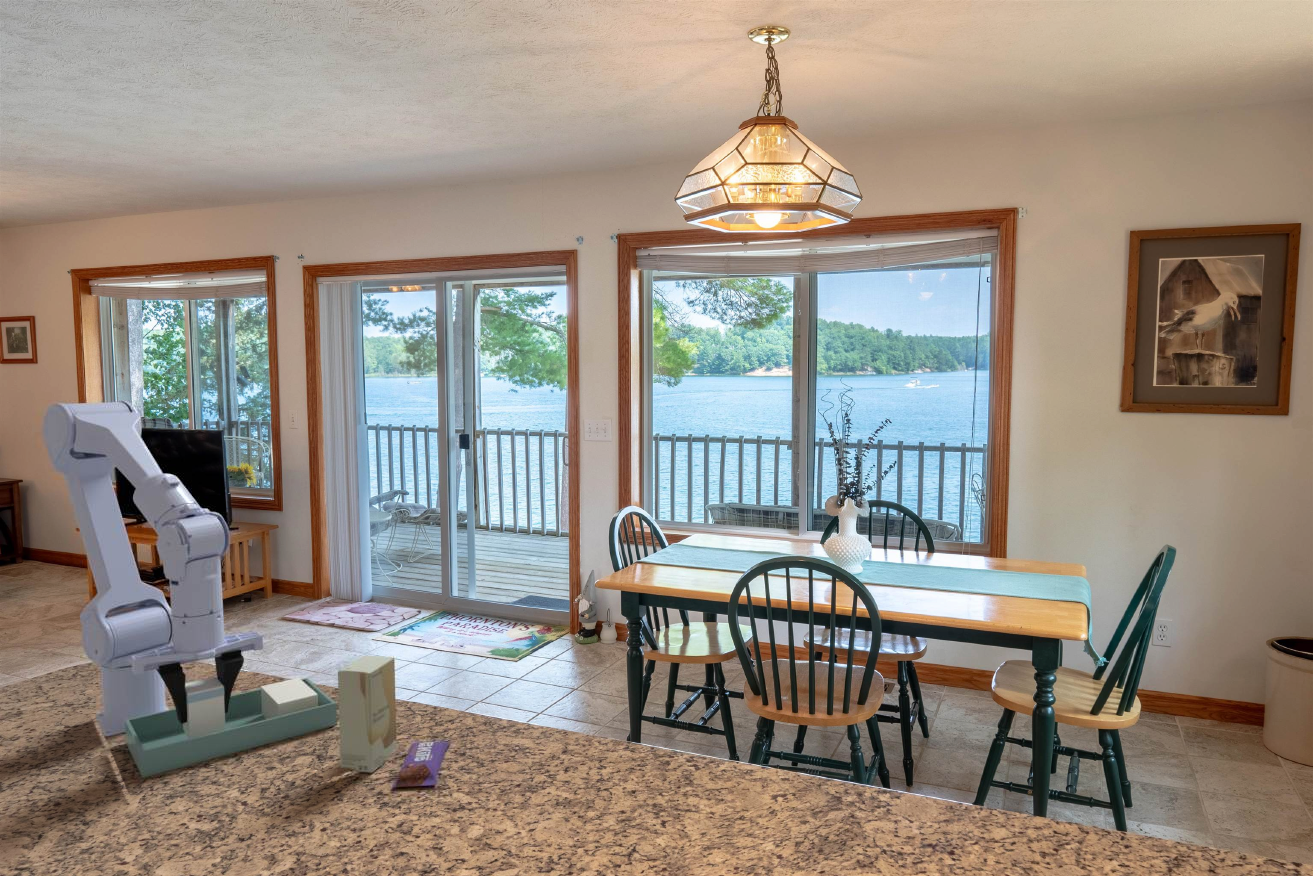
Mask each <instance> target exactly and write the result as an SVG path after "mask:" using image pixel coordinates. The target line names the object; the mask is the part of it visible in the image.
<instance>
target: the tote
mask: <svg viewBox="0 0 1313 876" xmlns="http://www.w3.org/2000/svg"><path fill="white" fill-rule="evenodd" d="M300 679H301V678H300ZM301 680H302V681H303V682H304V683H305V684H306V685H308V686H309V687H310V688H311V689H312V690H313V691H314V692H316V693H317V694H318V707H314V708H310V709H306V710H302V711H298V712H294V713H290V714H286V715H282V716H278V717H274V718H270V719H266V718H265V717H264V716H263V715H262V699H261V688H257V689H253V690H249V691H248V690H247V691H245V692H240V693H236V694H231V696H230V701H229V706H228V712H227V713H225V728H226V730H223V731H219V732H215V733H211V734H207V735H204V736H200V737H196V738H192V739H189V738H188V736H187V735H186V733H185V732H184V730H183V723H182V724H181V723H180V722H179V720H178V716H177V712H176V708H172V709H169V710H166V711H162V712H157V713H153V714H149V715H145V716H140V717H136V718H132V719H127V720H125V731H126V732H125V742H126V745H127V748H128V750H129V752H130V755H131V756H132V758H133V761H134V763H135V765H136V767H137V769H138V771H139V774H140V775H141V777H142V779H144V778H147V777H152V776H155V775H159V774H162V773H166V772H169V771H174V770H178V769H180V768H184V767H188V766H192V765H195V764H199V763H202V762H207V761H210V760H215V759H217V758H221V757H225V756H228V755H232V754H236V753H239V752H243V751H247V750H250V749H254V748H258V747H262V746H265V745H269V744H272V743H277V742H280V741H283V740H287V739H291V738H296V737H298V736H302V735H305V734H311V733H313V732H317V731H321V730H324V729H328V728H332V727H336V726H337V725H338V717H337V713H338V712H337V702H336V701H335V700H333V699H332V698H331V697H330V696H329V695H328V694H327V693H325V692H324V691H323V690H322V689H320V688H319V687H318V686H317V685H316V684H315V683H314V682H312V681H311V680H310V679H309V678H308V677H305V678H302V679H301Z"/></svg>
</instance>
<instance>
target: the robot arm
mask: <svg viewBox="0 0 1313 876" xmlns="http://www.w3.org/2000/svg"><path fill="white" fill-rule="evenodd" d="M142 429H143V428H142V418H141V416H140V414H139V413H138V410H137V409H136V407H135V406H134V404H132V403H131V402H130V401H128V400H119V401H112V402H111V401H110V402H108V401H107V402H84V403H82V402H80V403H62V402H54V403H52V404H51V405H50V406H49V407H48V408H47V410H46V411H45V414H44V416H43V424H42V427H41V433H42V438H43V441H44V445H45V448H46V451H47V455H48V459H49V461H50V465H51V467H52V470H54V471H56V472H59V473H61V474H63V477H64V480H65V484H66V487H67V490H68V494H69V498H70V501H71V504H72V508H73V511H74V515H75V519H76V521H77V525H78V529H79V533H80V535H81V539H82V542H83V547H84V550H85V552H86V557H87V559H88V563H89V567H90V571H91V574H92V577H93V581H94V584H95V588H96V591H97V593H96V595H95V596H94V597H93V598H92V599H91V600H90V601H89V603H87V605H85V607H84V608H83V610H81V613H80V614H79V619H80V626H81V645H82V649H83V651H84V653H85V655H86V657H87V658H88V659H89V661H91V662H93V664H95V665H97V666H100V676H101V677H100V678H101V679H100V680H101V694H102V696H101V697H102V709H103V710H102V711H99V712H97V713H95V718H96V719H97V722H98V725H99V727H100V730H101V732H102V734H103V737H104V738H106V737H109V736H114V735H118V734H124V733H126V731H125V720H127V719H132V718H136V717H140V716H145V715H149V714H153V713H157V712H162V711H166V710H170V709H169V707H168V706H167V705H166V704H167V703H166V688H167V690H168V692H169V694H170V697H171V699H172V701H173V704H174V707H175V708H176V712H177V716H178V720H179V722H180V723H181V724H182V723H187V709H186V701H185V683H186V673H185V671H184V670H183V669H184V668H183V667H182V666H181V665H184V664H189V663H194V662H200V661H204V660H209V659H214V662H215V671H216V678H217V679H218V680H219V681H220V682H221V684H222V685H223V686H224V707H225V713H227V712H228V706H229V701H230V696H231V695H232V692H233V689H234V685H235V683H236V680H237V678H238V676H239V674H240V671H241V670H242V668H243V666H244V664H245V663H244V662H245V658H244V656H243V655H242V653H243V652H244V653H245V652H249V651H252V650H253V651H255V652H256V651H261V650H263V649H264V639H263V634H262V633H260V632H259V631H255V632H254V631H253V632H249V633H241V634H230V635H225V623H224V603H223V602H224V601H223V586H222V585H223V584H222V583H223V582H222V564H221V557H223V556H225V555H226V554H227V552H228V550H229V548H230V543H231V535H230V529H229V526H228V524H227V522H226V521H225V519H224V517H223V515H221V514H220V513H219V512H216V511H211V510H210V509H208V508H202V507H201V506H200V504H199V503H198V502H197V500H196V499H195V498H194V497H193V496H192V494H191V493H190V492H189V490H188V488H186V486H185V485H184V484H183V482H182V481H181V480H180V479H179V478H178V476H176V475H174V474H171V473H163V471H162V469H161V468H160V466H159V464H158V462H157V461H156V459H155V458H154V457H153V454H152V453H151V451H150V449H148V447H147V445H146V443H145V441H144V440H143V438H142ZM115 468H117V469H118V470H119V472H120V473H121V474H122V475H123V476H124V477H125V478H126V479H127V480H128V481H129V482H130V483H131V485H132V486H133V487H134V488H135V490H134V493H133V496H132V500H133V503H134V504H135V506H136V507H137V508H138V510H139V511H140V513H141V514H142V515H143V517H144V518H145V519H146V521H147V522H148V523H149V525H150V527H152V529H153V530H154V531H155V533H156V534H157V540H156V541H155V543H156V550H157V554H158V556H159V558H160V560H161V563H162V567H163V574H164V576H165V578H166V580H167V579H168V580H169V592H170V593H169V595H170V596H169V597H170V605H169V603H168V602H167V599H166V596H165V594H164V592H163V590H161V589H159V588H157V587H154V586H153V585H150V584H147V583H145V582H144V581H142V580H141V577H140V573H139V570H138V567H137V563H136V561H135V560H136V559H135V555H134V554H133V549H132V545H131V543H130V540H129V535H128V533H127V530H126V525H125V522H124V519H123V516H122V512H121V509H120V505H119V501H118V499H117V495H116V492H115V489H114V485H113V481H112V478H111V472H112V471H113V469H115ZM123 610H124V611H123ZM110 613H111V614H110ZM171 644H172V645H171ZM175 708H174V709H175Z"/></svg>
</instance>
